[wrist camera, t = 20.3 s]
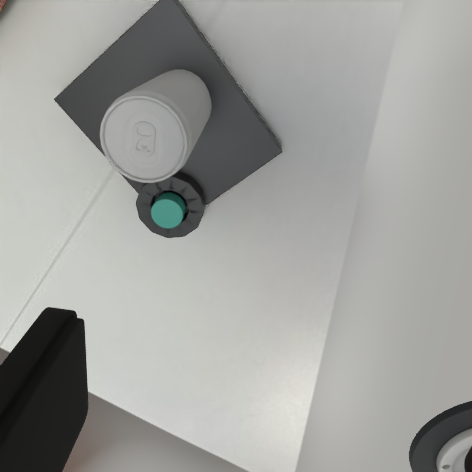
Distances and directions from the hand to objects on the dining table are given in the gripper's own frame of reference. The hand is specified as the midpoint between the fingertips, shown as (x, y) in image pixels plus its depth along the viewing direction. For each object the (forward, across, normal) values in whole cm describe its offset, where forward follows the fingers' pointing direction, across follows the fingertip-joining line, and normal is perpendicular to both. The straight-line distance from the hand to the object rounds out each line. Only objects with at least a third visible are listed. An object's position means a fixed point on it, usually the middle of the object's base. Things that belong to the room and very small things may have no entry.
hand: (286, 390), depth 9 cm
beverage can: (+26, +7, -1) cm, 27 cm away
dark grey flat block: (+28, +8, +1) cm, 29 cm away
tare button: (+25, +7, +7) cm, 27 cm away
